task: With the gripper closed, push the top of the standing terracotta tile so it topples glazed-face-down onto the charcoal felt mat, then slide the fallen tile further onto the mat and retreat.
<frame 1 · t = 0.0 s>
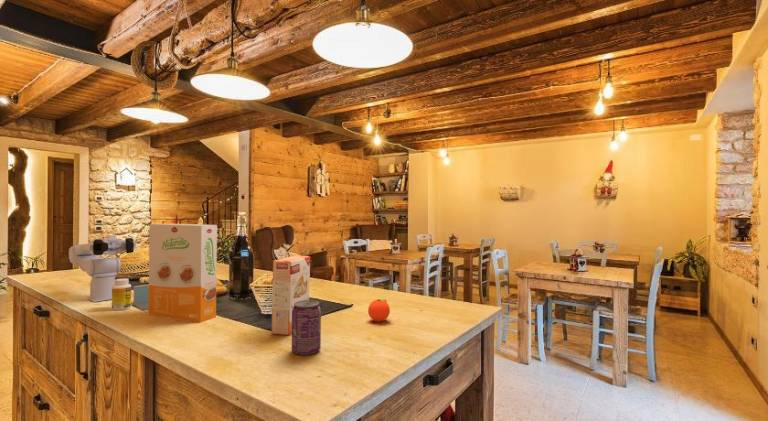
hand: (120, 246, 133), 22 cm above the counter, tool horizontal, fingers open, 7 cm apart
beverage can: (306, 352, 94), on the counter
clementine: (379, 321, 120), on the counter
cereal box: (181, 316, 123), on the counter
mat: (151, 305, 136), on the counter
tile: (143, 302, 140), on the counter
cracker box: (291, 328, 112), on the counter
supplement bottle: (121, 309, 131), on the counter
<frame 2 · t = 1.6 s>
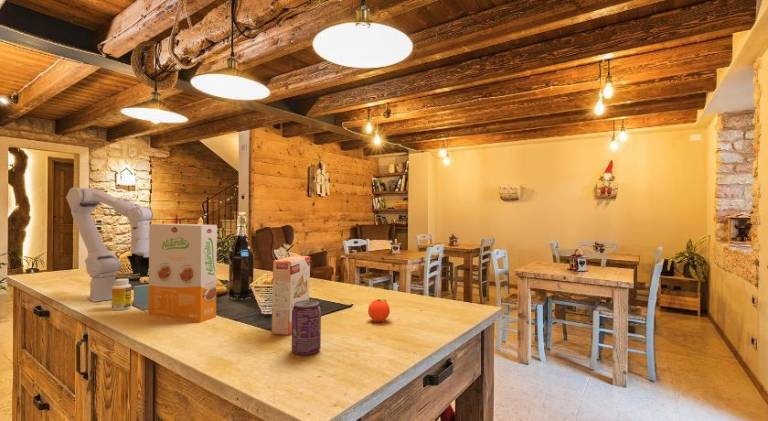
hand: (139, 274, 142), 10 cm above the counter, tool pointing down, fingers open, 7 cm apart
nothing on the counter moved.
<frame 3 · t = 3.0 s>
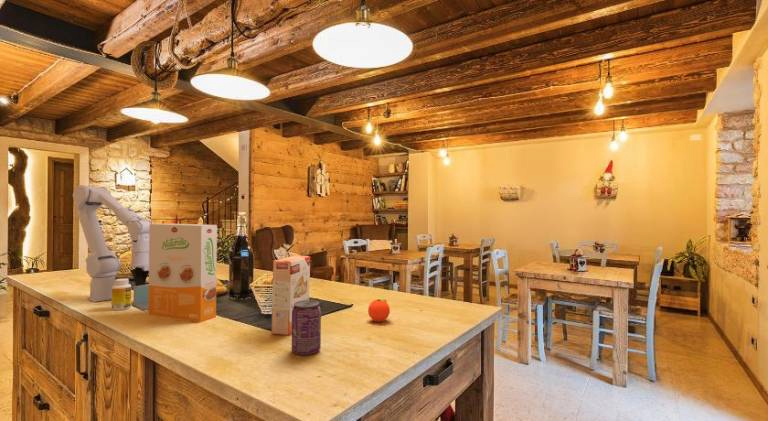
hand: (140, 287, 142), 5 cm above the counter, tool pointing down, fingers closed
nothing on the counter moved.
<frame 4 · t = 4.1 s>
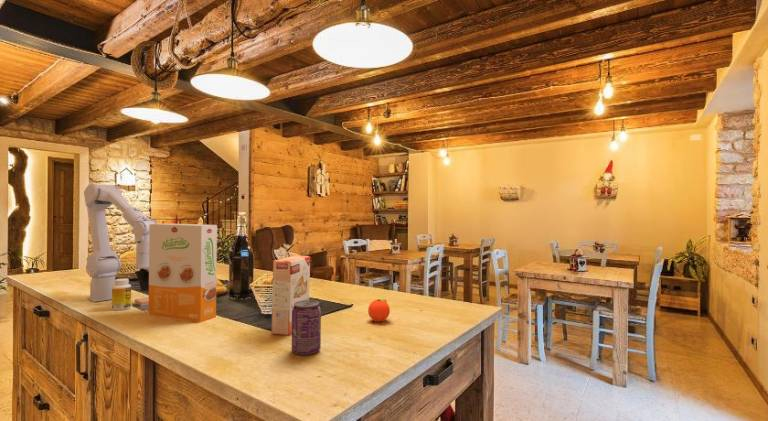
hand: (145, 289, 139), 5 cm above the counter, tool pointing down, fingers closed
tile: (144, 300, 139), point 1 cm above the counter, tilted 90°, touching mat
everything else where it was.
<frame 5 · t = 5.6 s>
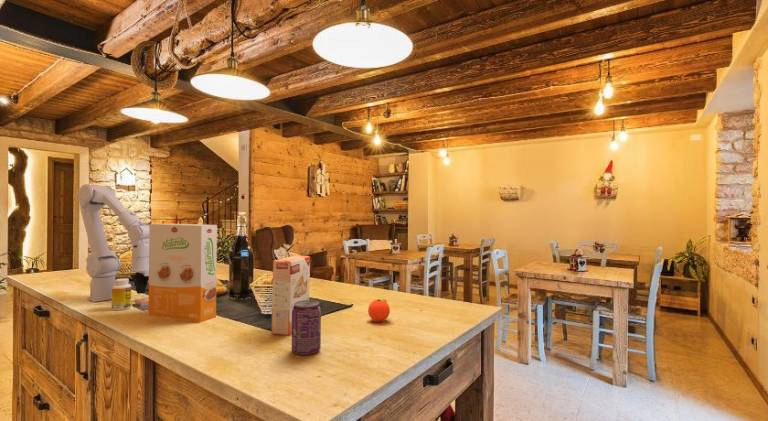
hand: (140, 293, 142), 3 cm above the counter, tool pointing down, fingers closed
nothing on the counter moved.
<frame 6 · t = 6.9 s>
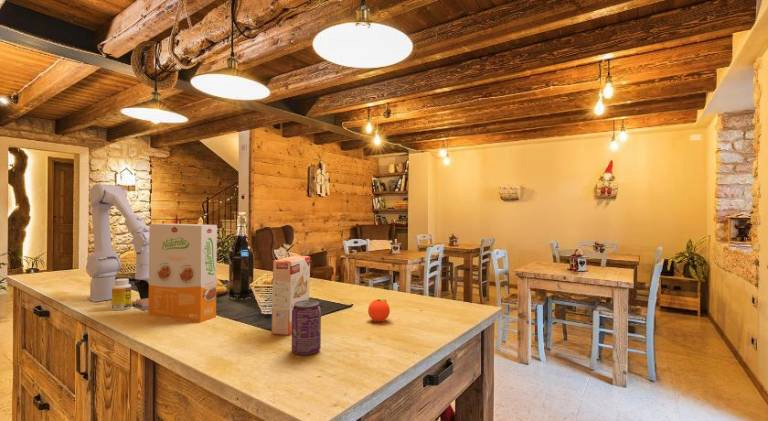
hand: (144, 300, 139), 1 cm above the counter, tool pointing down, fingers closed
tile: (145, 300, 139), point 1 cm above the counter, tilted 90°, touching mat
everything else where it was.
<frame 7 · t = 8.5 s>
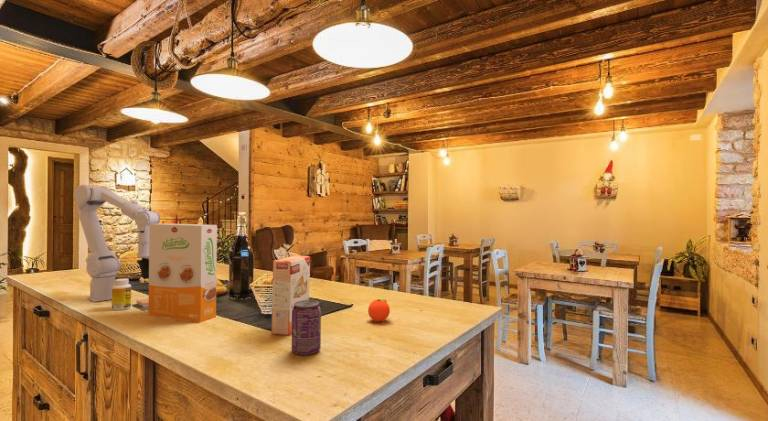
hand: (146, 278, 142), 8 cm above the counter, tool pointing down, fingers closed
nothing on the counter moved.
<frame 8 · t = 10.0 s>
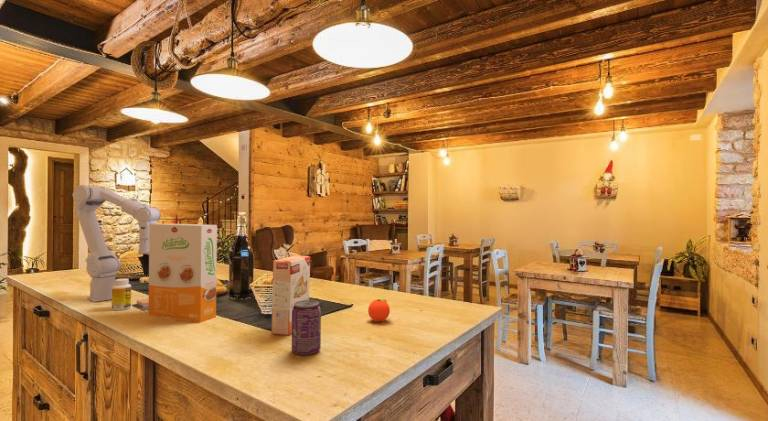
hand: (147, 274, 143), 10 cm above the counter, tool pointing down, fingers closed
nothing on the counter moved.
at the end: tile tilted 90°; tile inside the target area (2.7 cm from its centre), point 1.1 cm above the counter; the gripper is holding nothing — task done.
